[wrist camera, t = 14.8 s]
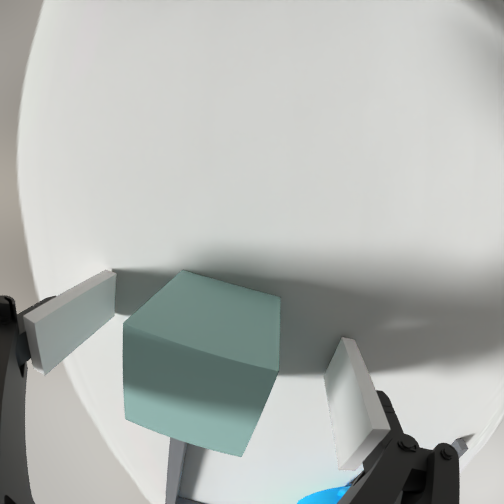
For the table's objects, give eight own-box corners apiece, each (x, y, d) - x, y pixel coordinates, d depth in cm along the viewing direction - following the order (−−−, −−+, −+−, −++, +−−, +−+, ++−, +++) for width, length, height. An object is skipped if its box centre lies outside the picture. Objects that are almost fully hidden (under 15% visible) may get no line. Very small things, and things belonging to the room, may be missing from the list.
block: (182, 269, 14) (123, 323, 8) (280, 296, 14) (278, 371, 8) (170, 349, 15) (125, 419, 9) (255, 374, 15) (241, 457, 9)
